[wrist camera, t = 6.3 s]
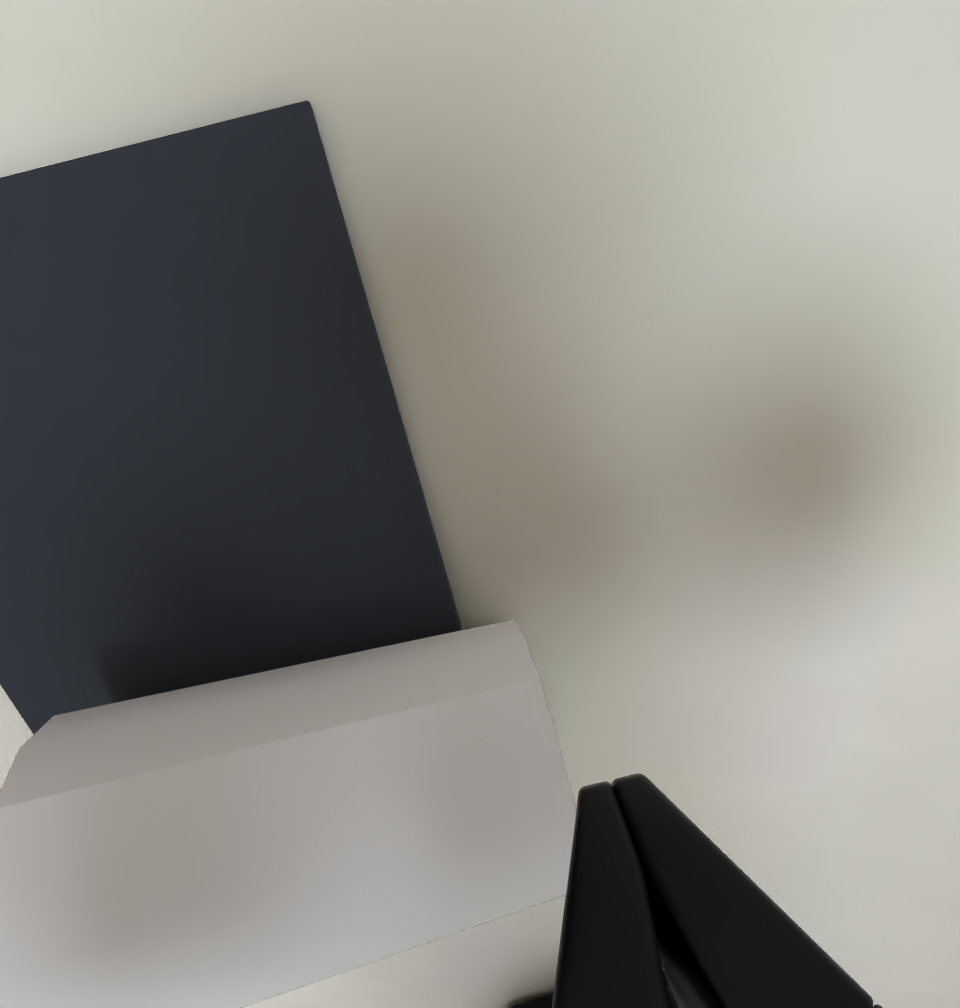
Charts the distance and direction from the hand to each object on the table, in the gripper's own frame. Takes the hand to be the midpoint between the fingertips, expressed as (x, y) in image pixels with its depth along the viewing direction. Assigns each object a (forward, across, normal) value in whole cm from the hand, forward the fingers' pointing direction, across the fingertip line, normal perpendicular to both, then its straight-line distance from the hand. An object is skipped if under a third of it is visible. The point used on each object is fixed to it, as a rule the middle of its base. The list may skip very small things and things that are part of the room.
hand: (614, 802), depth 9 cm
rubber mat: (+8, +8, 0) cm, 11 cm away
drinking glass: (+5, 0, +4) cm, 6 cm away
